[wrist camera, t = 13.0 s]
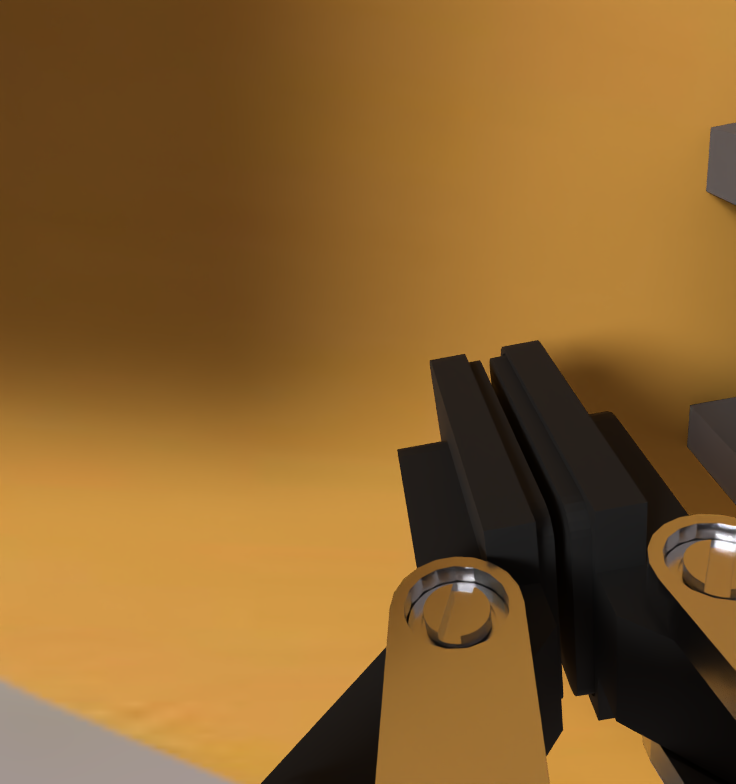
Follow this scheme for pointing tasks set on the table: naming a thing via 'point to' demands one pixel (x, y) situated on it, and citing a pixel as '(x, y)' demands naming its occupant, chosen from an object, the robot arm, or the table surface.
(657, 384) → the table surface
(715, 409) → the grey square-flanged spool
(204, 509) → the table surface
